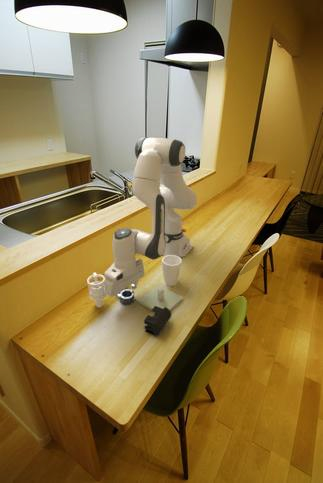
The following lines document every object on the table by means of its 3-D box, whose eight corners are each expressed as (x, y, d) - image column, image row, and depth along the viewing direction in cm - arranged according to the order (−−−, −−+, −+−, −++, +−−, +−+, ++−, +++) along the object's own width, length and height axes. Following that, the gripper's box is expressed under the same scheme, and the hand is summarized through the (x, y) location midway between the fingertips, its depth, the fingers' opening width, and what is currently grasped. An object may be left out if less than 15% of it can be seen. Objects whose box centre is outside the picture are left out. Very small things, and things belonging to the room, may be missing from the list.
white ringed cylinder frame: (106, 298, 113) (103, 270, 106) (109, 308, 107) (105, 280, 100) (90, 301, 111) (85, 273, 104) (92, 312, 105) (87, 283, 98)
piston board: (158, 287, 120) (158, 276, 117) (182, 300, 113) (183, 288, 110) (138, 302, 111) (138, 291, 108) (163, 317, 103) (163, 305, 100)
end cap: (160, 339, 93) (160, 326, 90) (143, 332, 96) (143, 319, 93) (171, 321, 101) (171, 308, 98) (155, 315, 104) (155, 303, 101)
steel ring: (127, 293, 116) (127, 287, 114) (137, 299, 113) (136, 293, 111) (117, 300, 112) (116, 294, 110) (127, 306, 108) (126, 300, 107)
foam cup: (168, 290, 118) (168, 267, 112) (157, 280, 125) (158, 258, 119) (184, 284, 123) (185, 261, 117) (173, 274, 130) (174, 253, 124)
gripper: (137, 254, 112) (137, 279, 119) (100, 274, 98) (103, 302, 105) (147, 259, 109) (147, 285, 115) (111, 280, 95) (113, 308, 101)
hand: (126, 293), depth 110 cm, fingers open, 8 cm apart
